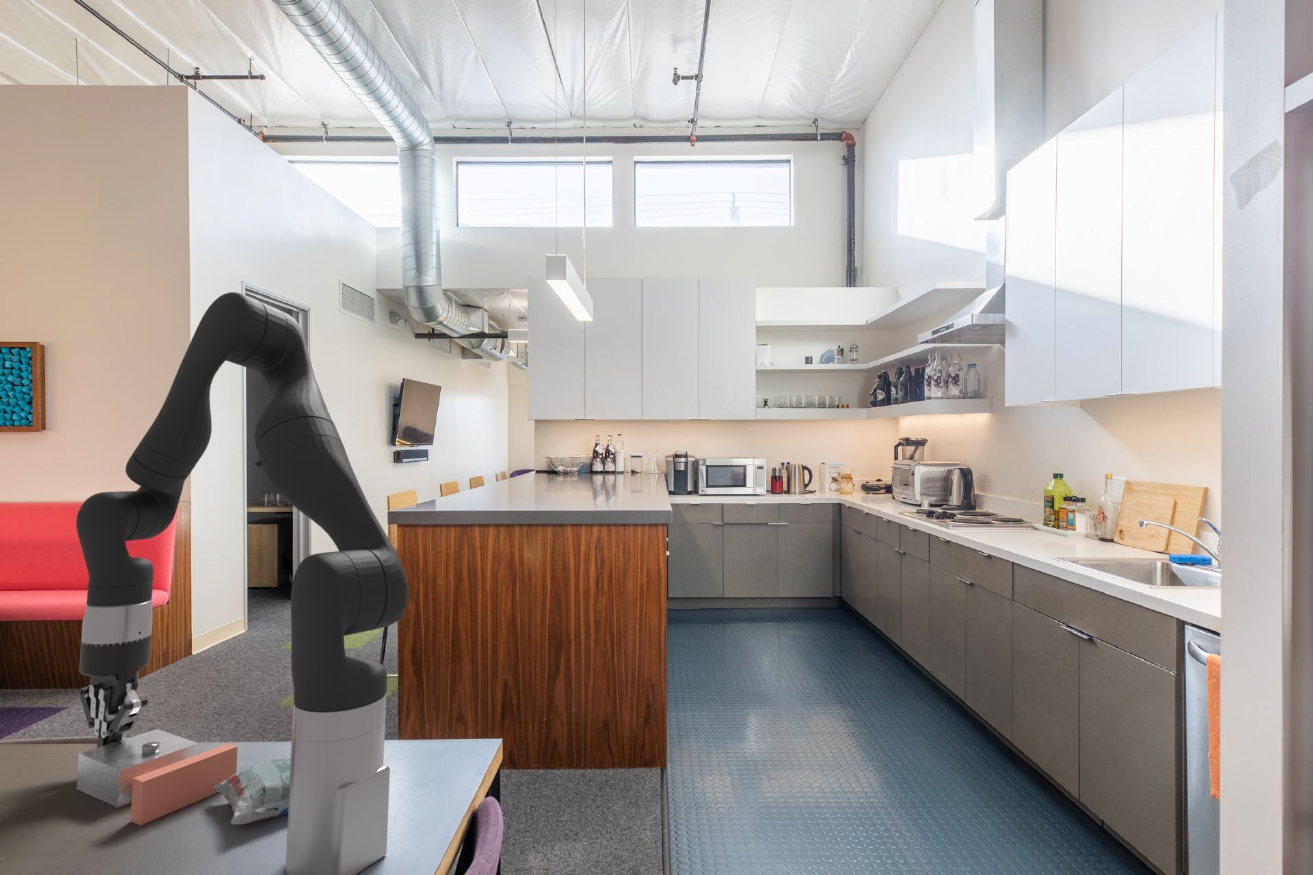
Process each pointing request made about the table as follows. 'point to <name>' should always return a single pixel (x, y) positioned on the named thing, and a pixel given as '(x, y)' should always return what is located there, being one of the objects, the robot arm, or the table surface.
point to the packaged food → (258, 791)
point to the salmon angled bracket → (181, 783)
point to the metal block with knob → (128, 764)
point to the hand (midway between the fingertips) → (108, 761)
